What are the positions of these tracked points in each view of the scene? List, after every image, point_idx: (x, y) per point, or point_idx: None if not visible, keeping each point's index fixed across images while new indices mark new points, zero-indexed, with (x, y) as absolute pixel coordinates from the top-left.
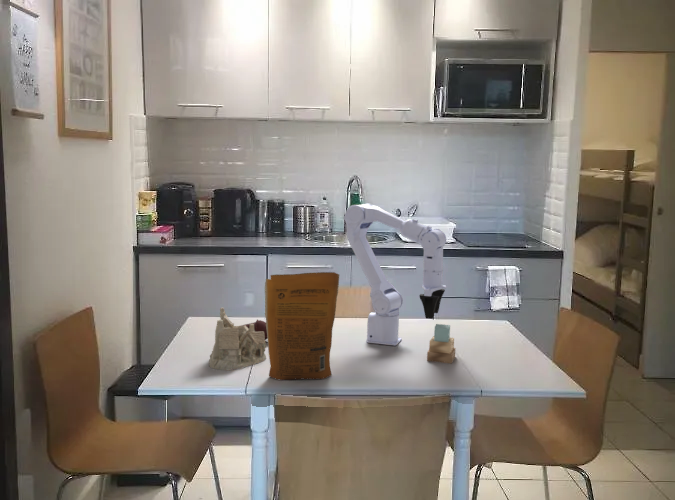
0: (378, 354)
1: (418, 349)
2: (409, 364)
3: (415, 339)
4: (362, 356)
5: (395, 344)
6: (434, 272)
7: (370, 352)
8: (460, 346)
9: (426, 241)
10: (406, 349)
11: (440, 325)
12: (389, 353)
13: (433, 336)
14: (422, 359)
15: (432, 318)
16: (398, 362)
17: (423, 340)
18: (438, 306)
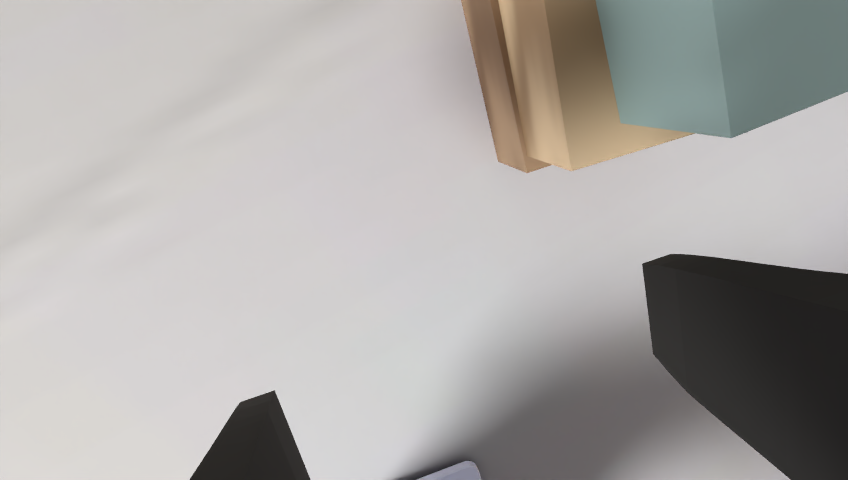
0: (690, 422)
1: (442, 299)
2: (790, 165)
3: (193, 467)
4: (763, 458)
5: (473, 466)
6: None
7: (676, 476)
8: (89, 48)
9: None
10: (495, 362)
11: (778, 49)
12: (639, 388)
13: (595, 161)
14: (655, 148)
15: (677, 256)
16: (781, 242)
17: (170, 408)
18: (260, 460)
